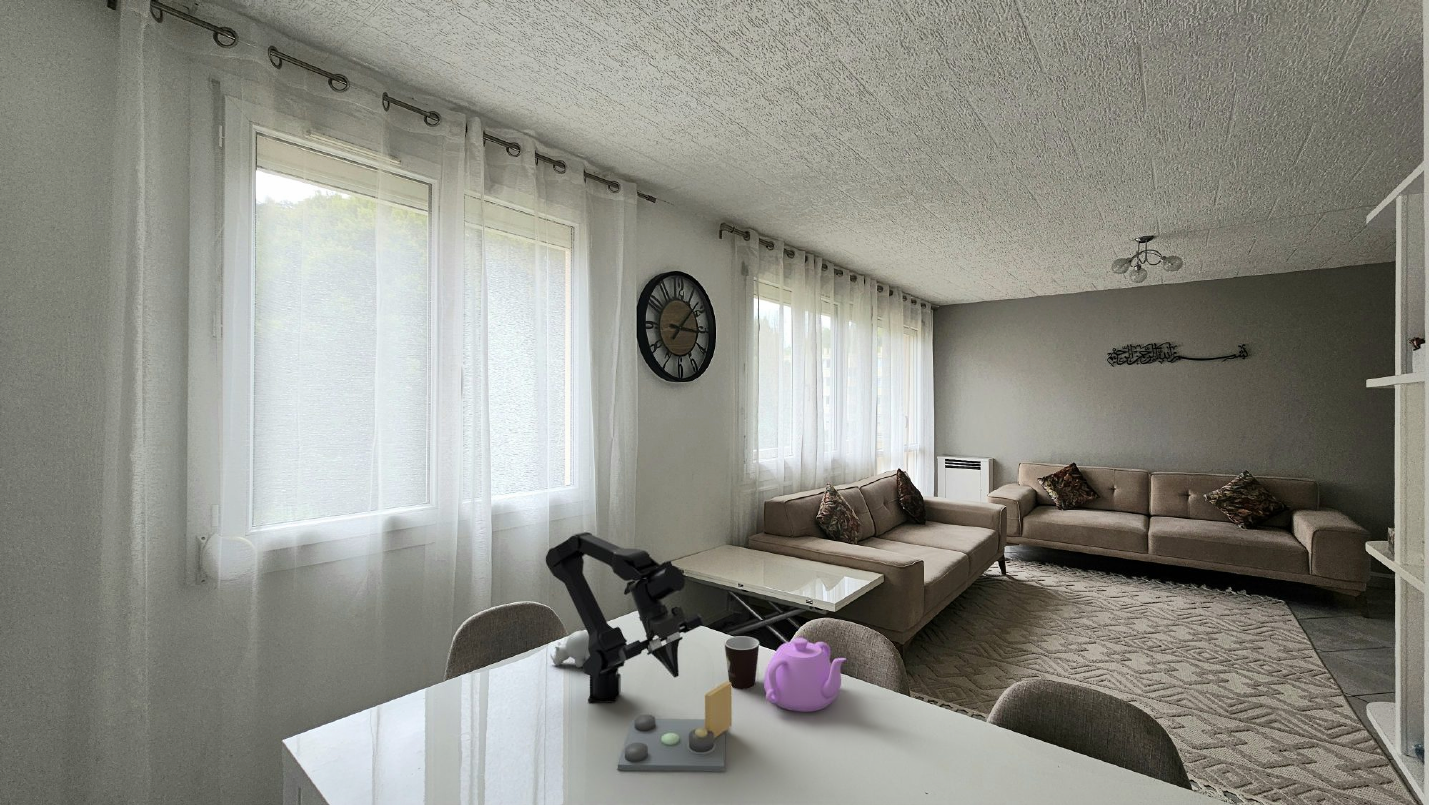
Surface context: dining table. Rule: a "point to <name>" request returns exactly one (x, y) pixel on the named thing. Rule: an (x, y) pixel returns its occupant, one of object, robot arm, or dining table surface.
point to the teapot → (802, 676)
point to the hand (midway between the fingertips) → (676, 676)
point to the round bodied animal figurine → (573, 649)
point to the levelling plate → (668, 746)
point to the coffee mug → (742, 661)
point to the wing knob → (713, 718)
